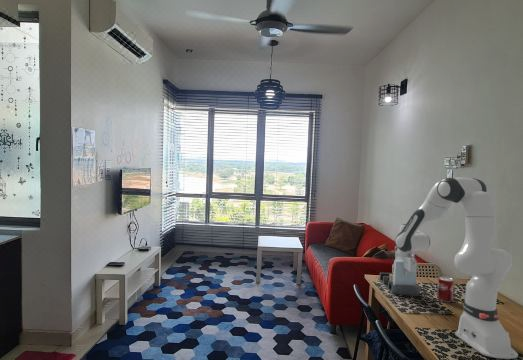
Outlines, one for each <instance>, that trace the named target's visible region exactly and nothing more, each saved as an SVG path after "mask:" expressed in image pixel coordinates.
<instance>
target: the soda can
mask: <svg viewBox="0 0 523 360" xmlns="http://www.w3.org/2000/svg"><path fill="white" fill-rule="evenodd" d="M454 283H455V282H454V279H453V278H451V277H449V276H439V277H438V280H437V293H436V297H437V299H438V300H439V301H440V302H443V303H452V302H453V299H454V298H453V297H454V295H453V294H454V293H453V292H454Z"/></svg>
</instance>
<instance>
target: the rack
mask: <svg viewBox="0 0 523 360" xmlns="http://www.w3.org/2000/svg"><path fill="white" fill-rule="evenodd" d="M389 274H394V272H379V277H378V280H379V281H380V282H381V284H382V285H383V286H384V287H385V288H386V289H387V290H388V291H389V292H390V294H391V295H407V294H409V296H411V295H412V296H414V295H415V296H420V295H421V286H420V285H416V286H412V285H393V281H389Z"/></svg>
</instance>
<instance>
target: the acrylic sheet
mask: <svg viewBox="0 0 523 360" xmlns="http://www.w3.org/2000/svg"><path fill="white" fill-rule="evenodd" d="M393 260H394V261H393V273H394V274H393V285H412V286H417V274H418V273H417V272H418V271H416V272H415V273H414V272H409V276H405V275H404V272H405V271H406V270H405V268H404V267H403V261H402V260H395V259H393Z"/></svg>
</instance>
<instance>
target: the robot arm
mask: <svg viewBox="0 0 523 360" xmlns="http://www.w3.org/2000/svg"><path fill="white" fill-rule="evenodd" d="M487 190H488V189H487V185H486V184H485V182H484V181H482V180H481V179H478V178H473V177H472V178H469V177H463V176H461V177H459V176H458V177H457V176H456V177H446V178H443V179H441V180H440V181H438V182H436V183H435V184H434V185H433V186H432V187H431V189H430V191H429V192H428V194H427V195H426V198H425V199H424V201H423V203H422V204H421V205H420V206H419V207H418V208H417V209H416V210H415V211H414V212H413V213H412V215H411V216H410V217H409V219H408V221H407V222H406V223H402V224H400V227H399V231H398V234H397V235H396V237H395V240H394V243H395V246H394V250H395V252H394V253H395V254H394V257H395V259H394V260H402V261H403V267H404V268H405V270H406V271H405V272H404V275H405V276H409V272H414V273H415V272H416V271H417V270H418V262H417V259H416V258H415V255H416V254H415V253H416V251H425V250H426V251H427V250H428V249H429V247H430V245H431V240H430V236H429V235H428V234H427V233H425V232H422V231H421V230H419V229H420V227H421V226H422V225H424V224H426V223H428V222H431V221H435V220H439V219H440V218H442V217H444V216H445V215H446V214H447V212H448V211H449V209H450V207H451V204H452V202H453V203H456V204H457V203H461V204H462V205H463V208H464V216H465V217H464V220H465V221H464V222H465V235H464V241H463V243H462V245H461V247H460V249H459V251H458V252H457V253H456V254H455V256H454V259H453V261H454V262H453V263H454V265H455V266H454V267H456V269H457V271H458V272H460V273H461V274H464V275H468V276H472V277H471V278H470V279H469V280H468V281H467V283H466V285H465V294H464V300H463V303H462V310H463V311H462V314H461V315H460V317H459V321H458V322H459V323H458V329H457V330H456V331H455V333H454V335H455V336H456V337H457V338H459V339H460V340H462V341H463V342H465V343H466V344H467V345H469V346H470V347H472V348H473V349H474V350H476V351H477V352H479V353H480V354H481V355H482V356H487V357H489V358H496V359H506V360H509V359H517V358H518V357H519V354H518V352H517V351H516V350H515V349H514V348H513V347H512V346H511V338H510V332H508V331H506V330H505V328H504V326H503V325H502V323H501V322H500V318H501V315H500V314H499V312H498V309H497V300H498V293H499V290H500V289H499V288H500V286H501V284H502V281H503V279H504V278H505V275H506V274H508V271H509V270H511V269H512V267H513V265H514V261H513V257H512V255H511V254H510V253H509V252H508V251H506V250H505V249H501V248H496V247H491V245H492V242H493V240H495V238H496V237H498V236H497V235H498V229H497V215H496V214H497V213H496V207H495V203H494V200H493V197H492V194H490V193H489V192H488V191H487ZM417 272H418V271H417Z"/></svg>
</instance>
